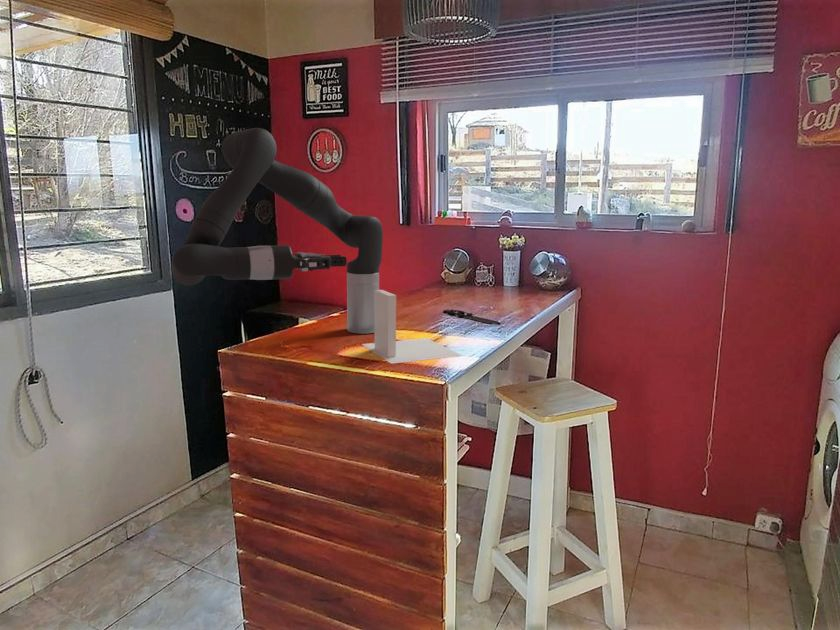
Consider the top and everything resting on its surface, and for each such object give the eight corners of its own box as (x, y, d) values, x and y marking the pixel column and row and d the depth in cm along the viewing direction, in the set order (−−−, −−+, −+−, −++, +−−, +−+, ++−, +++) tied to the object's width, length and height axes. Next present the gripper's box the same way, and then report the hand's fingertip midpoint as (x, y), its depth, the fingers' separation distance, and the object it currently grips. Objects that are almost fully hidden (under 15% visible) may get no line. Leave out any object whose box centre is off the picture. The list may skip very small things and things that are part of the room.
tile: (374, 348, 153) (374, 290, 150) (382, 347, 154) (382, 289, 151) (387, 357, 145) (388, 295, 142) (395, 356, 146) (396, 295, 143)
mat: (361, 347, 158) (361, 344, 158) (426, 340, 166) (426, 338, 166) (390, 366, 140) (391, 363, 140) (462, 358, 148) (462, 355, 148)
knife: (504, 325, 189) (504, 321, 189) (488, 327, 186) (488, 323, 185) (455, 312, 210) (455, 308, 209) (440, 314, 206) (440, 309, 206)
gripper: (275, 248, 127) (353, 246, 134) (262, 243, 139) (334, 241, 146) (276, 283, 128) (353, 280, 135) (263, 275, 141) (334, 272, 148)
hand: (343, 260), depth 141 cm, fingers open, 3 cm apart
